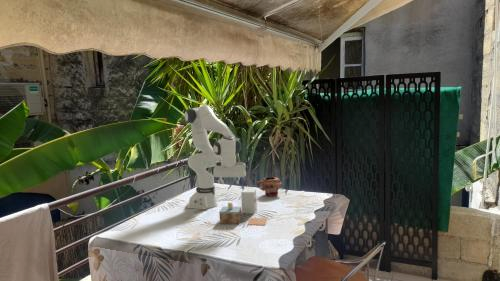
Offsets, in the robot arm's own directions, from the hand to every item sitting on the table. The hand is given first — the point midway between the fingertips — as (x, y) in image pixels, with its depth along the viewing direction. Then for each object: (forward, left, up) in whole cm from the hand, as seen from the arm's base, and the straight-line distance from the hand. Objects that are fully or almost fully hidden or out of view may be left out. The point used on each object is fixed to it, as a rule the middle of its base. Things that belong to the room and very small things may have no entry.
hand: (230, 183), depth 220 cm
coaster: (+17, 0, -24) cm, 29 cm away
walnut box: (0, 0, -24) cm, 24 cm away
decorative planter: (+19, +58, -25) cm, 66 cm away
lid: (0, 0, -18) cm, 18 cm away
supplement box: (+9, +19, -25) cm, 32 cm away
